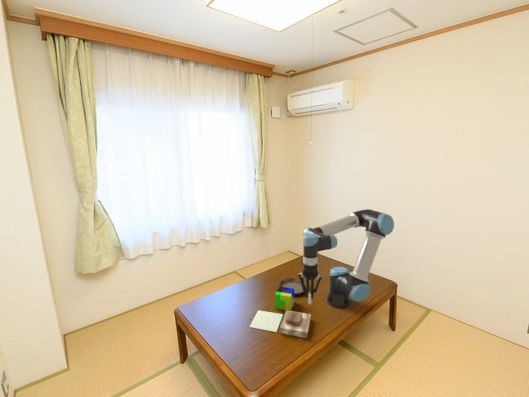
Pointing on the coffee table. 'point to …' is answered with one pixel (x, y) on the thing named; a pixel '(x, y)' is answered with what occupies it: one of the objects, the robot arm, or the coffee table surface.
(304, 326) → the plate
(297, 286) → the plant saucer
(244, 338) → the coffee table surface
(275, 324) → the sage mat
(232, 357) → the coffee table surface
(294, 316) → the walnut tile
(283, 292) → the puzzle toy
